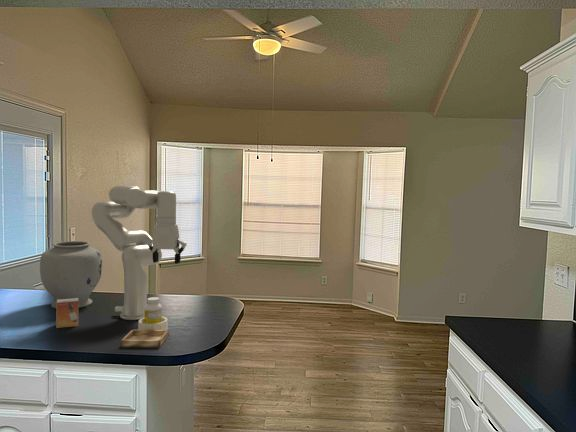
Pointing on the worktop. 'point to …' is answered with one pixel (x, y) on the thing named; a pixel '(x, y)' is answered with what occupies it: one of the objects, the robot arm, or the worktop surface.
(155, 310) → the supplement bottle
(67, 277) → the grey ceramic vase
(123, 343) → the tray
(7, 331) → the worktop surface
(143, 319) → the holder
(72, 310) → the small box
